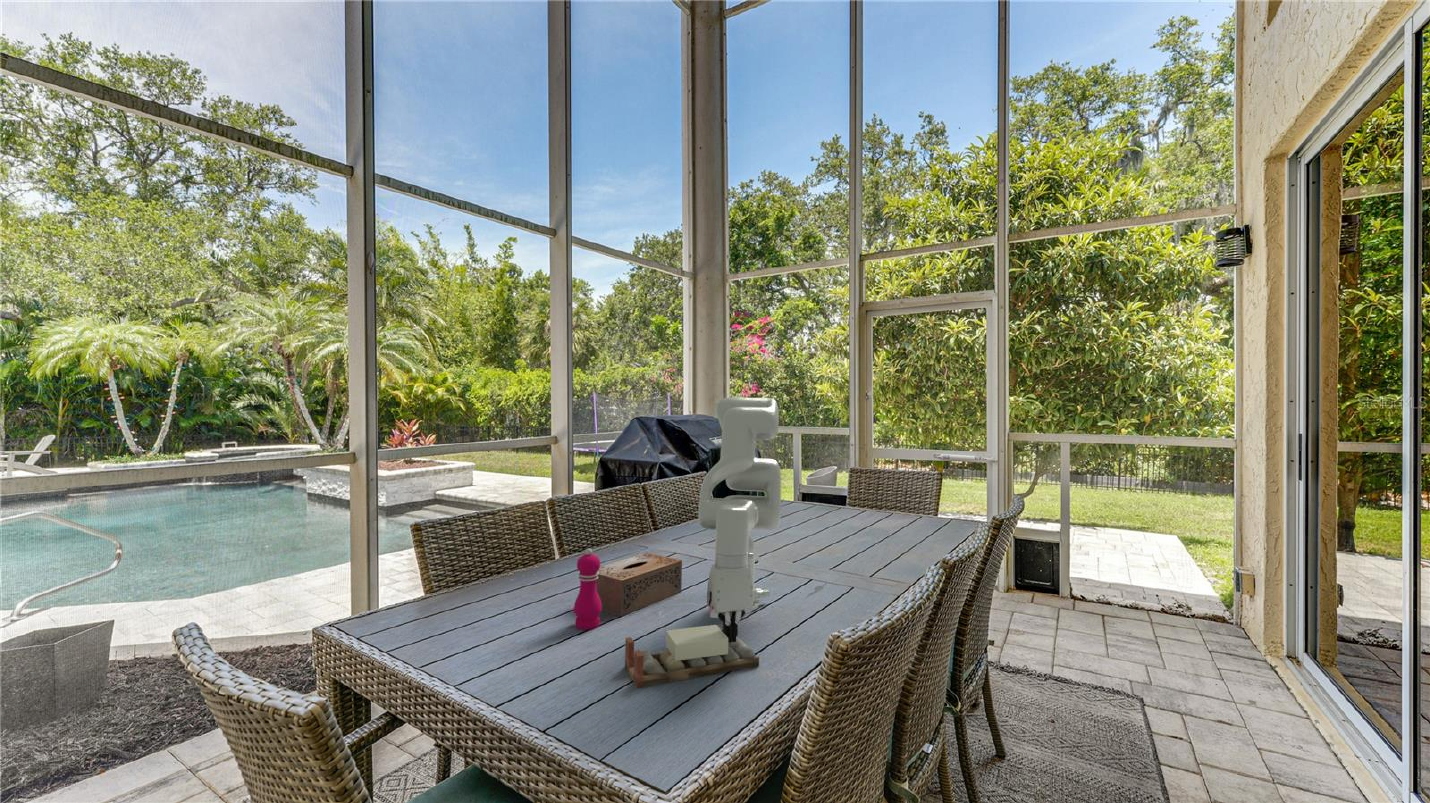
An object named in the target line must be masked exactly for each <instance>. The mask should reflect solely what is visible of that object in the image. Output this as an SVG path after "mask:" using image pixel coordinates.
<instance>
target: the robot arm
mask: <svg viewBox="0 0 1430 803" xmlns="http://www.w3.org/2000/svg"><path fill="white" fill-rule="evenodd" d="M779 414H780V413H779V405H778V402H777V401H776V400H775V399H774V398H770V397H745V396H744V397H743V396H741V397H740V396H734V397H733V396H732V397H725V398H721V399H720V400H719V401H717V403H716V415H717V416H716V417H717V420H718V423H719V426H720V428H721V445H720V459H719V460H718V462H717V463H715V464H714V466H712V468H711V469H709V471H708V472H707V473H706V475H705V476H704V478H703V481H702V483H701V486H700V490H699V499H698V500H699V501H698V509H697V510H698V516H697V517H698V522H699V525H700V526H701V527H702V528H703V529H706V530H711V531H715V542H714V543H715V546H714V552H715V553H714V554H715V555H714V557H715V558H714V564H712V565H711V567H710V571H709V575H708V582H707V591H706V606H708V607H709V608H708V612H707V615H708V616H709V617H710V618H711V619H712V618H713V619H719V620H720V621H721V622H722V632H723V633H724V634H725V635H726V636H727V637H728V642H729V643H732V642H736V637H738V634H739V633H738V632H739V630H738V629H739V624H741V620H742V618H743V617H744V616H745V615H747V614H749V613H752V612H753V611H755V610H757V609H758V608H760V598H765V597H766V598H767V597H770V590H769V589H763V590H762V589H761V588H755V570H756V569H755V567H756V566H755V565H756V564H755V562H756V544H755V542H754V540H753V538H752V537H751V534H749V533H750V531H751V530H754V531H757V530H758V531H760V530H761V531H771V530H772V531H773V530H776V529H778V528H779V526H780V524H781V516H782V515H781V514H782V513H781V511H782V509H781V508H782V504H781V502H782V501H781V500H782V476H781V475H782V474H781V473H782V471H781V467H780V465H779V462H778V461H777V460H775V459H774V458H768V457H767V458H766V457H765V458H764V457H763V458H762V457H756V440H773V439H775V438H776V436H778V431H779V424H780V423H779V422H780V417H779ZM724 480H725V484H726V486H727V487H728V488H729V489H730V490H734V491H741V492H743V491H745V492H763V493H764V496H762V495H744V494H743V495H742V494H736V495H735V494H734V495H728V496H725V497H724V498H722V497H720V498H719V497H718V498H717V497H712V493H713V491H714V488H716V486H718V484H720V483H721V482H722V481H724Z"/></svg>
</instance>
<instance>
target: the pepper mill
mask: <svg viewBox="0 0 1430 803" xmlns="http://www.w3.org/2000/svg"><path fill="white" fill-rule="evenodd" d="M584 552H585V554H583V555H581V556H580V557H579V558H578V559H577V562H576V568H577V570H578V571H579V573H578V580H579V583H580V584H579V585H580V586H579V591H578V595H577V597H576V599H575V601H574V605H573V613H574V615H575V616H576V618H575V619H574V620H575V623H574V624H575V627H576V628H577V629H579V630H594V629H596V628H598V627H599V626H600V624H601V617H600V614H601V613H602V611H603V610H602V603H601V600H600V597H599V595H598V592H597V588H596V580H597V579H598V572H597V571H598V570H599V568H600V566H601V560H600V558H599V557H598V556H597V555H596V554H593V550H592V548H586V549H585V551H584Z"/></svg>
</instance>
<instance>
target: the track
mask: <svg viewBox="0 0 1430 803" xmlns="http://www.w3.org/2000/svg"><path fill="white" fill-rule="evenodd" d="M624 645H625V650H624V656H625V658H624V668H625V670H626V671H627V673H628V676H630V678H631V679H632V681H633V683H634V685H635V687H636V689H639V688H644V687H645V688H646V687H650V686H656V685H661V684H668V683H673V682H678V681H683V680H684V681H685V680H688V679H689V680H690V679H696V678H701V677H706V676H711V675H718V674H724V673H729V672H730V673H731V672H734V671H735V672H736V671H739V670H740V671H741V670H745V669H751V668H756V667H760V657H759V656H757V655H756V653H755V652H754V650H753V649H752V648H750V647H749V646H748V645H747V644H746V643H745V642H743V641H742V639H740V638H739V637H738V636H736V642H732V643H729V642H728V654H724V655H716V656H709V657H701V658H694V659H686V660H681V662H682V663H683V664H684V666H685V669H682V670H676V671H670V672H668V671H667V672H666V671H665V670H664V668H663V666H662V665H661V664H662V663H661V661H660V654H661V653H662V652H656V653H650V652H649V651H648V650H646V649H641V650H635V641H634V640H633V638H632V637H631V636H630V637H625V644H624ZM660 663H661V664H660Z"/></svg>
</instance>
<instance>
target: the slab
mask: <svg viewBox="0 0 1430 803" xmlns="http://www.w3.org/2000/svg"><path fill="white" fill-rule="evenodd" d="M665 647H666V649H668V650H669V652H670V653H671V655H672V656H673V658H674V660H675V661H678V660H686V659H694V658H701V657H709V656H716V655H724V654H728V637H727V636H726V635H725V634H724V633H723V630H722V629H721V627H719V626H718V625H717V624H710V625H704V626H703V625H701V626H695V627H693V626H692V627H685V628H677V629H676V628H675V629H666V630H665Z"/></svg>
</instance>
